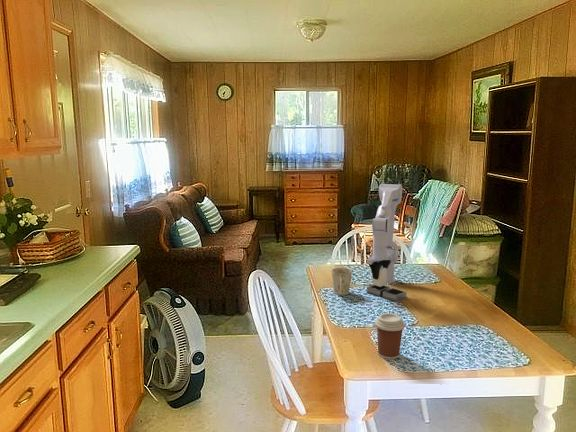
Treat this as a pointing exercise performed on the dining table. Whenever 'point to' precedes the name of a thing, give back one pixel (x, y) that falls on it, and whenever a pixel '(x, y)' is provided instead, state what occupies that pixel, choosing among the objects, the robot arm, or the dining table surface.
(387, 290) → the panel
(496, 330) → the dining table surface
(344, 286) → the mug
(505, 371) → the dining table surface
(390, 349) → the coffee cup
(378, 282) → the plug
